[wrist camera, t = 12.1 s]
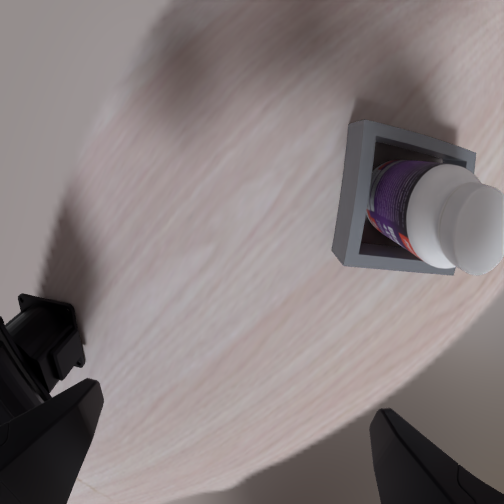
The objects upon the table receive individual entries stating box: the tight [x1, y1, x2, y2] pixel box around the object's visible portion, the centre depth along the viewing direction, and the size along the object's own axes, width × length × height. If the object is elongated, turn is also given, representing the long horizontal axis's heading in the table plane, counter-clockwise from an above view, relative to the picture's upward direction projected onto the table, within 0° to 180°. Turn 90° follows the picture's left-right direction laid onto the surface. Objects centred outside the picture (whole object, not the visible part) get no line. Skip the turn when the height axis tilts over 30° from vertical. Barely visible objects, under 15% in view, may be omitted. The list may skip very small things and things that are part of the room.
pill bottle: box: [366, 160, 504, 275], centre depth 15 cm, size 5×5×10 cm
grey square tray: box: [332, 119, 476, 275], centre depth 18 cm, size 9×9×3 cm
